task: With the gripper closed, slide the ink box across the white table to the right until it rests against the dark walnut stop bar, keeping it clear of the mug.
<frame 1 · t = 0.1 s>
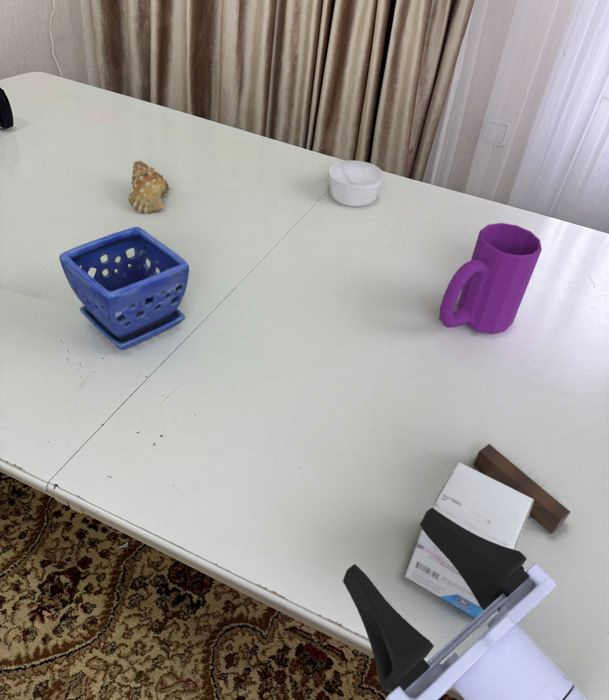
hand: (388, 543, 44), 23 cm above the table, tool horizontal, fingers open, 7 cm apart
ink box: (453, 568, 68), on the table
flower pot: (133, 324, 94), on the table
seashell: (147, 200, 121), on the table
ramekin: (352, 197, 128), on the table
mug: (469, 324, 100), on the table
stop: (515, 494, 76), on the table
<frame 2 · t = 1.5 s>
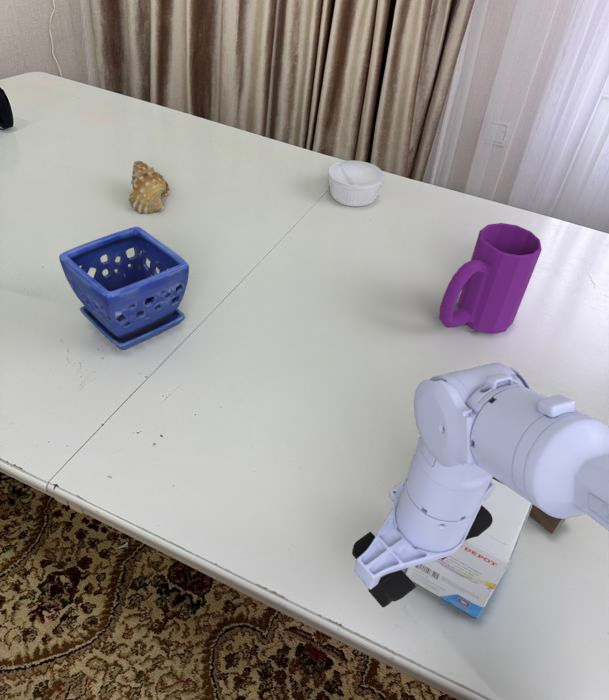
hand: (408, 572, 57), 10 cm above the table, tool pointing down, fingers open, 7 cm apart
ink box: (453, 568, 68), on the table, touching gripper
everything else where it was.
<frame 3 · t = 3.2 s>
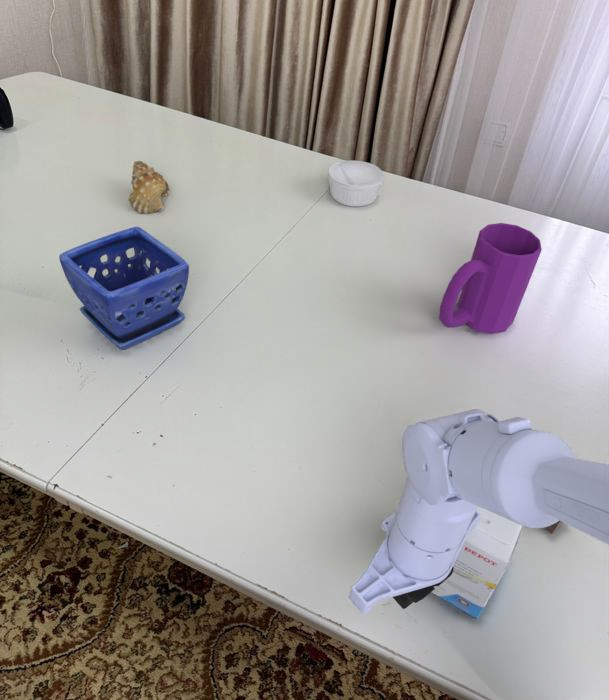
hand: (401, 597, 61), 4 cm above the table, tool pointing down, fingers closed
ink box: (453, 568, 68), on the table
everything else where it was.
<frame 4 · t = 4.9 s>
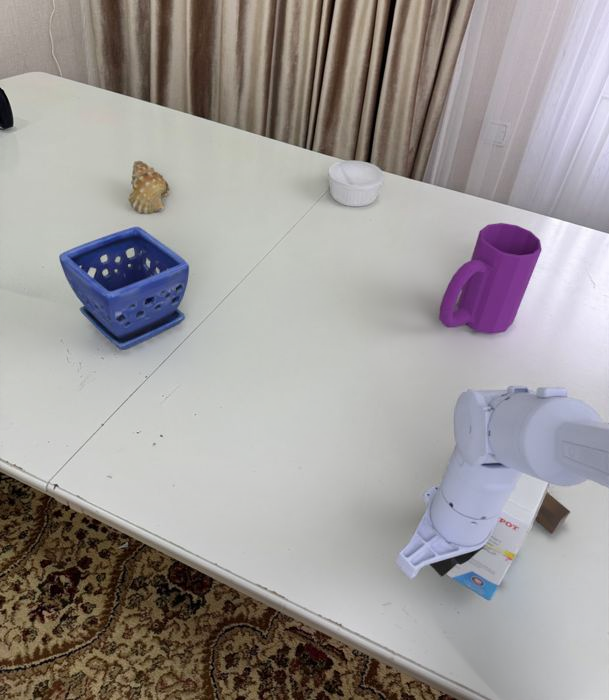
hand: (438, 565, 65), 3 cm above the table, tool pointing down, fingers closed, pressing on ink box
ink box: (464, 556, 68), point 1 cm above the table, touching gripper
everything else where it was.
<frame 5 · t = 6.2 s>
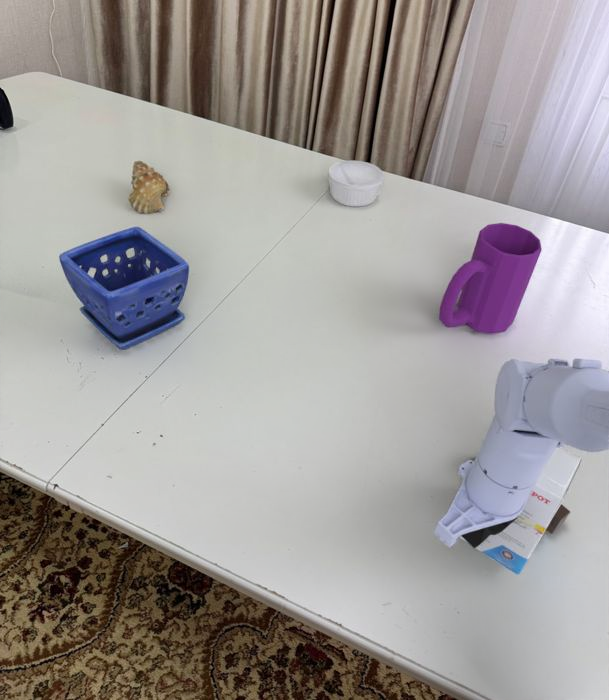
hand: (470, 538, 67), 3 cm above the table, tool pointing down, fingers closed, pressing on ink box
ink box: (494, 533, 71), point 1 cm above the table, touching gripper
everything else where it was.
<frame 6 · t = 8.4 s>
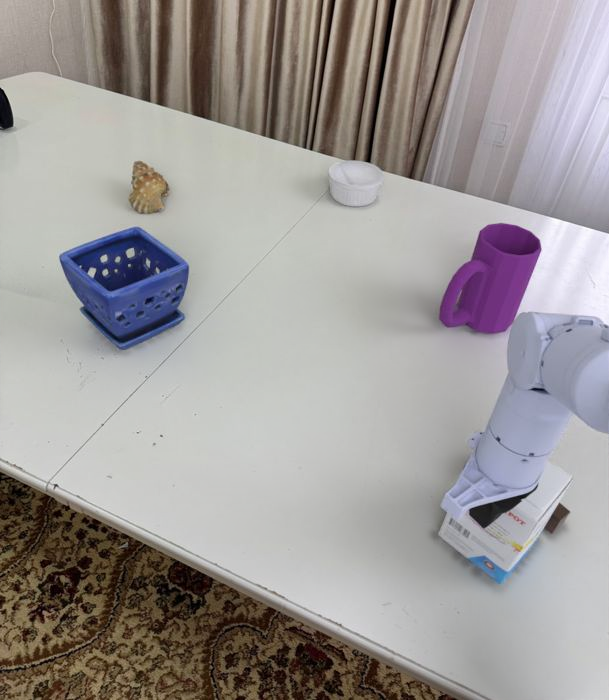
hand: (480, 518, 62), 9 cm above the table, tool pointing down, fingers closed
ink box: (486, 538, 71), on the table, touching gripper
everything else where it was.
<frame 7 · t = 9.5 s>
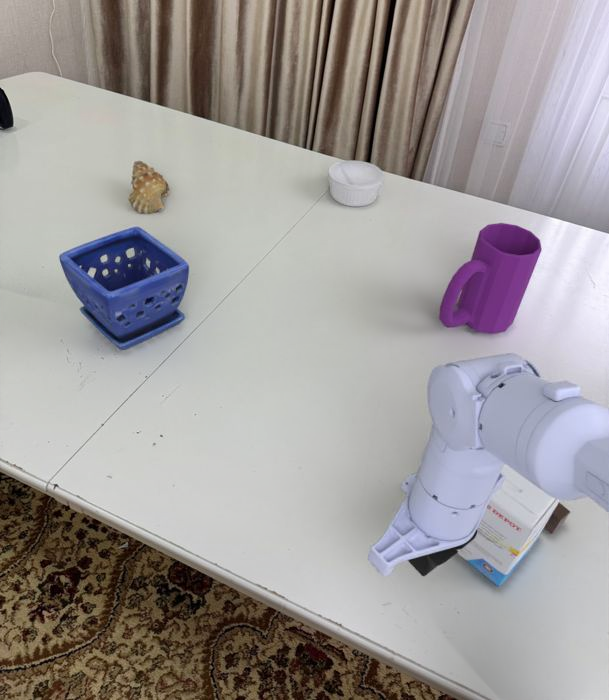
hand: (420, 564, 58), 9 cm above the table, tool pointing down, fingers closed
ink box: (485, 539, 71), on the table
everything else where it was.
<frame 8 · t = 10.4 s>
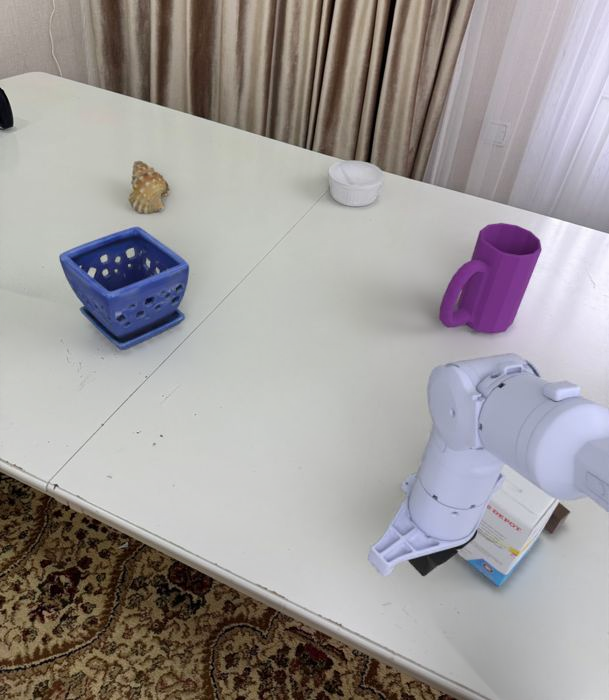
hand: (420, 564, 58), 9 cm above the table, tool pointing down, fingers closed
nothing on the table moved.
at the end: ink box 1.7 cm from the target spot on the table beside the stop, on the table; ink box tilted 0°; ink box touching table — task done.
